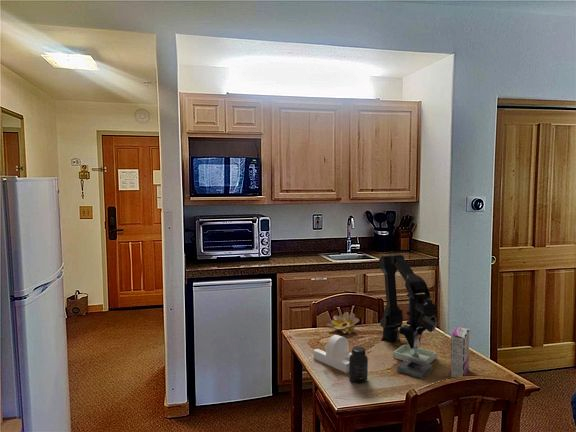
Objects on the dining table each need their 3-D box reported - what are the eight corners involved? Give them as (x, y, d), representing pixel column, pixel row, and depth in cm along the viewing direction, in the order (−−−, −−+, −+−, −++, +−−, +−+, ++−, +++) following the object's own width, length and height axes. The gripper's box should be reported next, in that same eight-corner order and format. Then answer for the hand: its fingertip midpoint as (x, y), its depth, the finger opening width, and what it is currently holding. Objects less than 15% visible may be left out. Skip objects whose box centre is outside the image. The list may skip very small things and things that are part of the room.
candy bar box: (455, 366, 167) (456, 326, 166) (468, 369, 164) (470, 328, 163) (449, 377, 157) (451, 334, 156) (463, 380, 155) (465, 337, 153)
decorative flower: (321, 325, 209) (326, 306, 209) (337, 326, 216) (342, 307, 216) (341, 336, 197) (346, 316, 197) (358, 337, 204) (362, 317, 204)
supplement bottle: (347, 376, 158) (347, 345, 157) (364, 375, 159) (365, 344, 158) (351, 384, 151) (351, 352, 150) (369, 384, 152) (370, 352, 151)
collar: (397, 371, 162) (397, 366, 162) (408, 362, 170) (408, 358, 170) (422, 379, 156) (422, 373, 156) (432, 370, 163) (432, 365, 163)
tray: (393, 357, 175) (393, 351, 175) (404, 349, 183) (404, 344, 183) (425, 367, 166) (426, 360, 166) (436, 358, 174) (436, 352, 174)
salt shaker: (406, 356, 174) (406, 334, 174) (411, 353, 178) (411, 331, 178) (417, 359, 171) (417, 336, 171) (422, 355, 175) (422, 333, 174)
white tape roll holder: (362, 366, 167) (362, 339, 166) (346, 373, 161) (346, 345, 160) (329, 352, 181) (329, 327, 180) (313, 358, 174) (313, 333, 173)
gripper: (426, 319, 161) (425, 358, 162) (443, 308, 175) (442, 344, 176) (399, 313, 168) (398, 351, 169) (417, 303, 182) (416, 338, 184)
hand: (414, 346), depth 174 cm, fingers open, 6 cm apart
